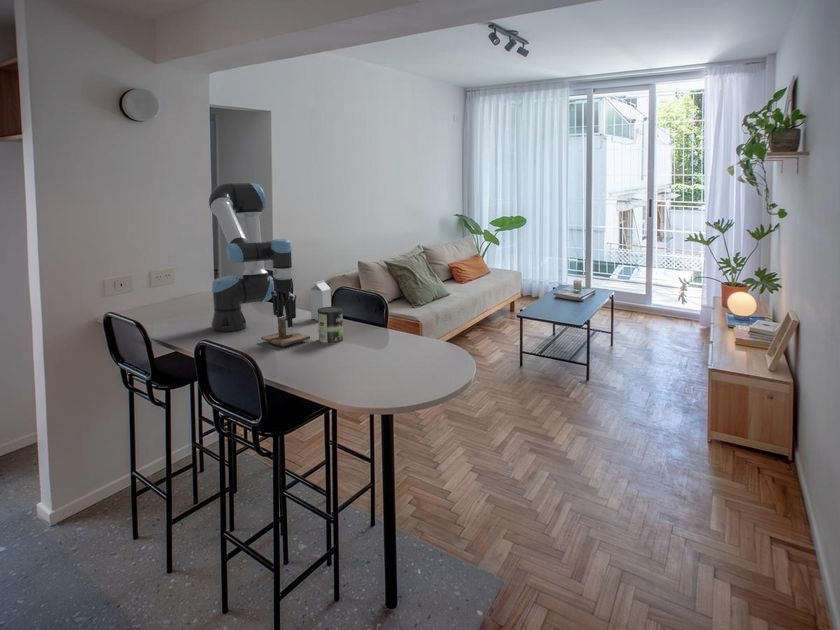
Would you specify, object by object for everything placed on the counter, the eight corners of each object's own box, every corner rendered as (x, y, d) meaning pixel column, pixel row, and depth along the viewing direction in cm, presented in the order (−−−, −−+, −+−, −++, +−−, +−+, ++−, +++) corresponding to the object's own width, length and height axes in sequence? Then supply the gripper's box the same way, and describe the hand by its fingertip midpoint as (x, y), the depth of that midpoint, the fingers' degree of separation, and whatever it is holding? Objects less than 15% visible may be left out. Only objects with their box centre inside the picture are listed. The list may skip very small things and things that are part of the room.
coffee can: (346, 339, 235) (345, 307, 231) (338, 346, 225) (337, 312, 222) (324, 337, 237) (322, 305, 233) (314, 344, 227) (313, 311, 224)
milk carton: (331, 318, 269) (330, 280, 265) (323, 321, 263) (322, 282, 259) (319, 316, 272) (318, 279, 268) (311, 319, 266) (309, 281, 261)
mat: (256, 344, 226) (256, 343, 226) (289, 335, 239) (289, 334, 239) (282, 352, 216) (282, 351, 216) (315, 342, 229) (315, 341, 229)
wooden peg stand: (261, 339, 226) (260, 318, 224) (288, 332, 237) (287, 312, 235) (282, 346, 218) (281, 324, 216) (309, 338, 228) (309, 317, 226)
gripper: (262, 276, 223) (265, 331, 229) (288, 281, 213) (291, 339, 219) (277, 274, 229) (279, 327, 235) (303, 279, 219) (306, 335, 224)
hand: (285, 333), depth 227 cm, fingers closed on wooden peg stand, 4 cm apart
